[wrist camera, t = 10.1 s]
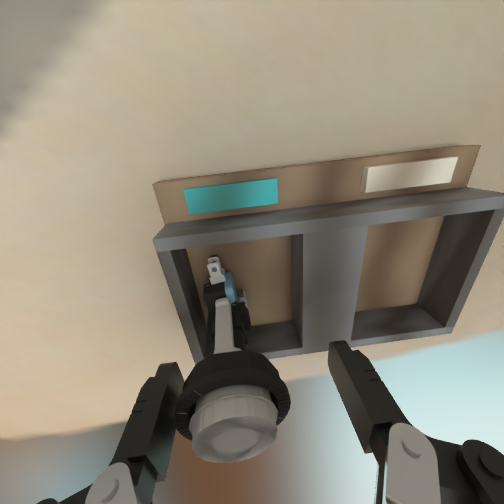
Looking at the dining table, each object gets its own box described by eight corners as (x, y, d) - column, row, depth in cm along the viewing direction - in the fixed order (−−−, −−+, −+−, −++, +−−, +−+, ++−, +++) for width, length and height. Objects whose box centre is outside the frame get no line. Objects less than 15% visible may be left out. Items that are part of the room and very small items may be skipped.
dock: (459, 145, 15) (540, 143, 11) (410, 304, 22) (450, 338, 18) (159, 181, 15) (131, 192, 11) (203, 332, 21) (196, 374, 17)
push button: (179, 262, 16) (126, 406, 7) (247, 245, 16) (284, 362, 7) (206, 325, 19) (193, 483, 10) (263, 310, 19) (303, 451, 10)
